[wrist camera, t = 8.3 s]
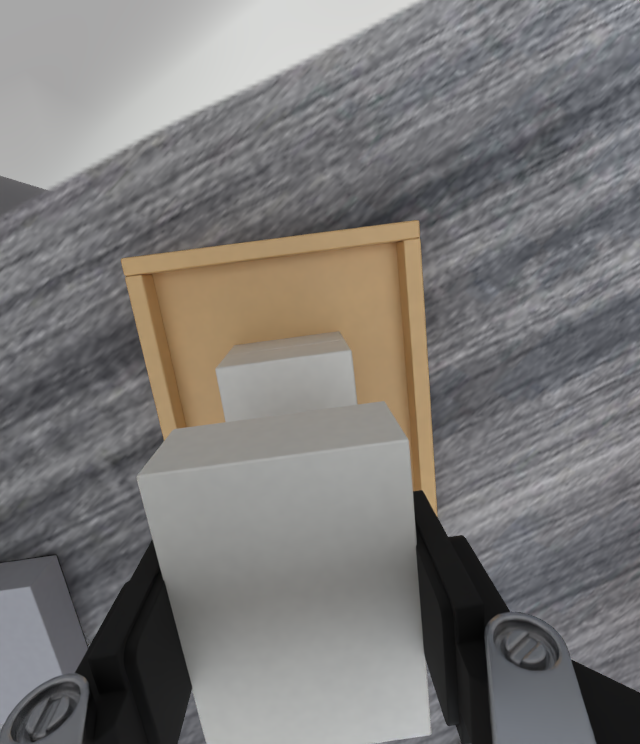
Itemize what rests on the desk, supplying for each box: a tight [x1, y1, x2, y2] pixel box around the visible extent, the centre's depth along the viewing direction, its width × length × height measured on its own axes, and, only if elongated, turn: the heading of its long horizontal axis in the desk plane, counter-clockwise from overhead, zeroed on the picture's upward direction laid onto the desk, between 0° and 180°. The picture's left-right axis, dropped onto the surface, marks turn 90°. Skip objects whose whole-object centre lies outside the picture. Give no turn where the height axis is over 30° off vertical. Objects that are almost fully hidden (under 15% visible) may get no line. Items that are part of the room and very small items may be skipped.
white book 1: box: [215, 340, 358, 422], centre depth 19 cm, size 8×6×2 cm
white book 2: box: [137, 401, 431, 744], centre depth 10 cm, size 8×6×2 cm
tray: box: [121, 220, 438, 518], centre depth 22 cm, size 18×14×2 cm
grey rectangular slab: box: [0, 555, 88, 724], centre depth 24 cm, size 9×6×2 cm, turn 7°
